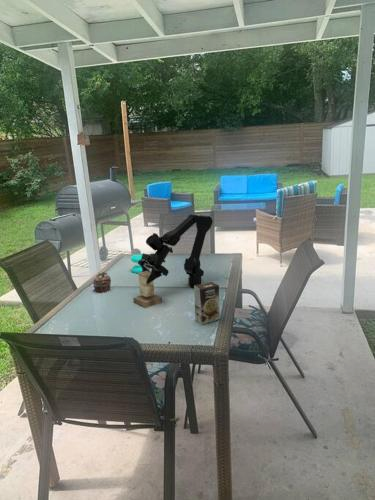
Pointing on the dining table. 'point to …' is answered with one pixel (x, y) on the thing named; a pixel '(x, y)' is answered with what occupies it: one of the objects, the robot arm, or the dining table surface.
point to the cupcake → (102, 283)
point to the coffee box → (206, 302)
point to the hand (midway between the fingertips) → (144, 282)
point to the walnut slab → (147, 300)
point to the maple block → (145, 284)
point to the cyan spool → (136, 259)
